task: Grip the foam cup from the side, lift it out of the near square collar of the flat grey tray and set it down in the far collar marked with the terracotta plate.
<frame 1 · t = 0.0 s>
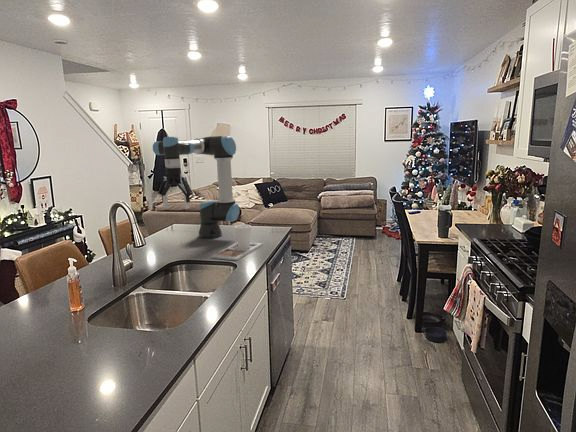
hand: (176, 208, 202), 28 cm above the worktop, tool pointing down, fingers open, 13 cm apart
flat grey tray: (238, 251, 220), on the worktop
foam cup: (244, 248, 226), resting in flat grey tray
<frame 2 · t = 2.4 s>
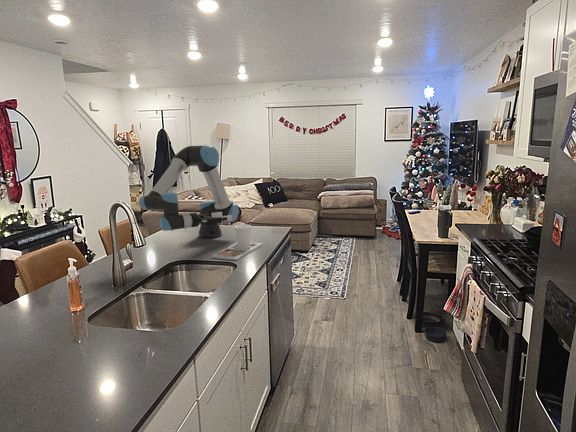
hand: (226, 215, 217), 20 cm above the worktop, tool horizontal, fingers open, 13 cm apart
nothing on the worktop moved.
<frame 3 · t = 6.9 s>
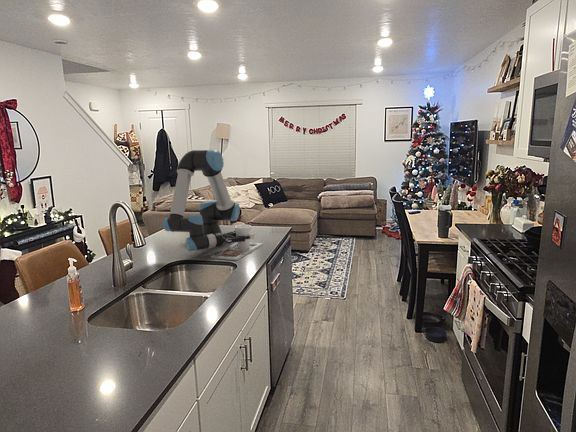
hand: (250, 234, 227), 8 cm above the worktop, tool horizontal, fingers closed on foam cup, 9 cm apart
foam cup: (244, 248, 226), resting in flat grey tray, touching gripper
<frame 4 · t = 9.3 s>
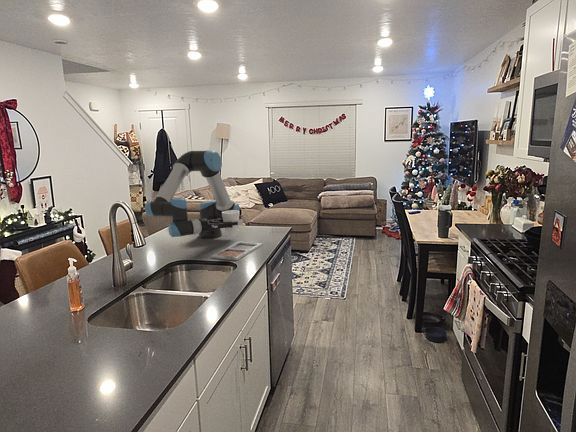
hand: (238, 220, 213), 18 cm above the worktop, tool horizontal, fingers closed on foam cup, 9 cm apart
foam cup: (231, 235, 212), point 11 cm above the worktop, touching gripper
when the fingers open (9 cm above the worktop, at t = 11.7 s): foam cup drops 1 cm, resting on flat grey tray.
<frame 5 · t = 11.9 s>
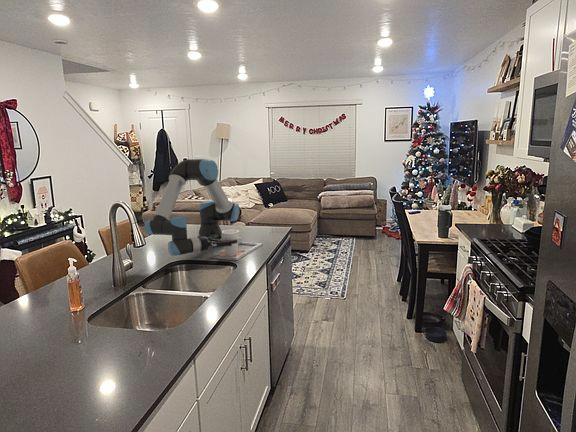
hand: (236, 237, 213), 9 cm above the worktop, tool horizontal, fingers open, 12 cm apart
foam cup: (231, 254, 213), resting on flat grey tray
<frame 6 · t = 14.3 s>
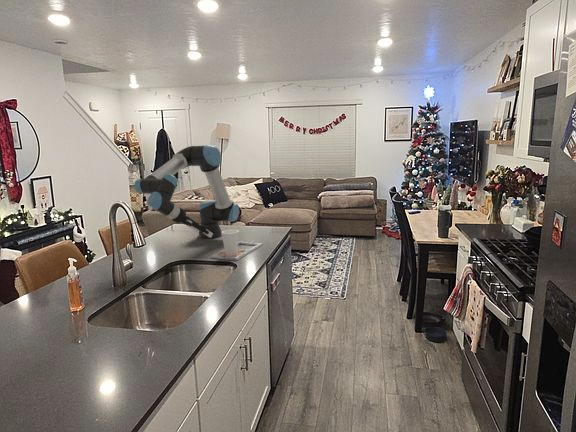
hand: (204, 232, 209), 13 cm above the worktop, tool tilted 50°, fingers open, 13 cm apart
nothing on the worktop moved.
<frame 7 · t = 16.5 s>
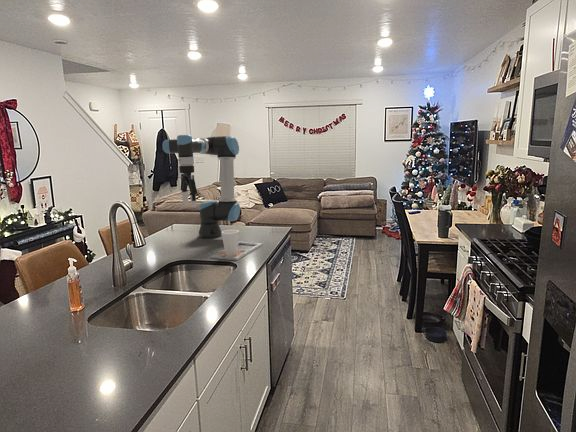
hand: (189, 205, 205), 29 cm above the worktop, tool pointing down, fingers open, 13 cm apart
nothing on the worktop moved.
at the end: foam cup 0.1 cm from the target spot on the flat grey tray, point 0.0 cm above the flat grey tray's base; foam cup tilted 0°; the gripper is holding nothing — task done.
